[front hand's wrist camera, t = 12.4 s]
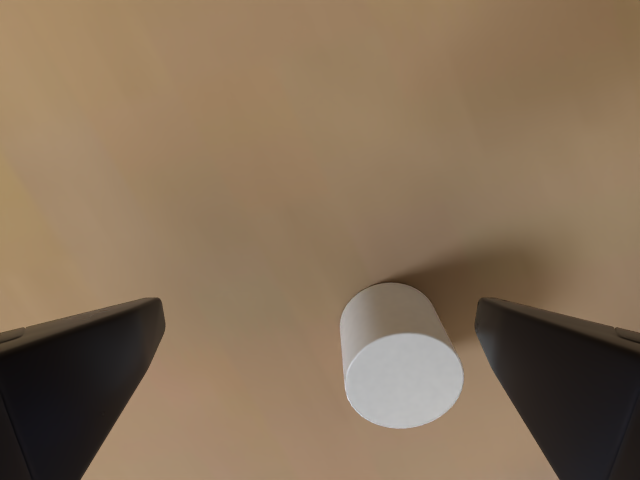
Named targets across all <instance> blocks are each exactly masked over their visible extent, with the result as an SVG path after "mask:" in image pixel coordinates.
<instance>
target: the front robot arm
mask: <svg viewBox="0 0 640 480" xmlns="http://www.w3.org/2000/svg"><path fill="white" fill-rule="evenodd" d="M164 331H165V318H164V312H163V306H162V302H161V300H160V299H159V298H142V299H138V300H134V301H130V302H126V303H122V304H118V305H114V306H110V307H106V308H102V309H98V310H94V311H90V312H86V313H82V314H77V315H73V316H69V317H65V318H61V319H57V320H53V321H49V322H45V323H41V324H37V325H33V326H29V327H26V329H25V328H24V327H23V328H18V329H14V330H10V331H6V332H2V333H0V480H81V478H82V476H83V475H84V473H85V471H86V470H87V468H88V467H89V465H90V463H91V462H92V460H93V458H94V457H95V455H96V453H97V452H98V450H99V449H100V447H101V445H102V444H103V442H104V440H105V439H106V437H107V435H108V434H109V432H110V431H111V429H112V427H113V426H114V424H115V422H116V421H117V419H118V417H119V416H120V414H121V413H122V411H123V409H124V408H125V406H126V404H127V403H128V401H129V399H130V398H131V396H132V395H133V393H134V391H135V390H136V388H137V386H138V385H139V383H140V381H141V380H142V378H143V377H144V375H145V373H146V371H147V370H148V368H149V366H150V364H151V361H152V359H153V357H154V355H155V352H156V350H157V348H158V345H159V343H160V341H161V339H162V336H163V334H164ZM475 331H476V334H477V336H478V339H479V341H480V343H481V346H482V348H483V350H484V352H485V355H486V357H487V359H488V361H489V364H490V366H491V368H492V370H493V371H494V373H495V375H496V377H497V378H498V380H499V381H500V383H501V385H502V386H503V388H504V390H505V391H506V393H507V395H508V396H509V398H510V399H511V401H512V403H513V404H514V406H515V408H516V409H517V411H518V413H519V414H520V416H521V417H522V419H523V421H524V422H525V424H526V426H527V427H528V429H529V431H530V432H531V434H532V435H533V437H534V439H535V440H536V442H537V444H538V445H539V447H540V449H541V450H542V452H543V453H544V455H545V457H546V458H547V460H548V462H549V463H550V465H551V467H552V468H553V470H554V471H555V473H556V475H557V476H558V478H559V480H640V333H638V332H634V331H630V330H626V329H622V328H617V327H616V328H615V329H614V327H611V326H607V325H603V324H599V323H595V322H591V321H587V320H583V319H579V318H575V317H571V316H567V315H563V314H558V313H554V312H550V311H546V310H542V309H538V308H534V307H530V306H526V305H522V304H518V303H514V302H510V301H506V300H502V299H498V298H481V299H480V300H479V302H478V306H477V312H476V318H475Z"/></svg>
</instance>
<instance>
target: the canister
mask: <svg viewBox="0 0 640 480" xmlns="http://www.w3.org/2000/svg"><path fill="white" fill-rule="evenodd" d="M340 336H341V347H342V359H343V371H344V383H345V391H346V395H347V398H348V400H349V402H350V404H351V405H352V407H353V408H354V409H355V410H356V412H358V413H359V414H360V415H361V416H362V417H364V418H365V419H366V420H368V421H370V422H372V423H374V424H377V425H380V426H384V427H389V428H412V427H417V426H421V425H424V424H427V423H429V422H431V421H433V420H435V419H437V418H439V417H440V416H442V415H443V414H444V413H446V412H447V411H448V410H449V409H450V408H451V407H452V406H453V404H454V403H455V402H456V400H457V399H458V397H459V395H460V393H461V390H462V387H463V382H464V370H463V366H462V363H461V360H460V358H459V356H458V354H457V352H456V350H455V348H454V346H453V344H452V342H451V340H450V338H449V336H448V335H447V333H446V331H445V329H444V327H443V325H442V323H441V321H440V319H439V317H438V315H437V313H436V311H435V309H434V307H433V305H432V303H431V302H430V300H429V299H428V298H427V297H426V296H425V295H424V294H423V293H422V292H420V291H419V290H417V289H415V288H413V287H411V286H408V285H405V284H400V283H381V284H377V285H373V286H371V287H368V288H366V289H364V290H362V291H361V292H359V293H358V294H357V295H355V296H354V297H353V298H352V299H351V300H350V302H349V303H348V304H347V306H346V307H345V309H344V311H343V313H342V316H341V320H340Z"/></svg>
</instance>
